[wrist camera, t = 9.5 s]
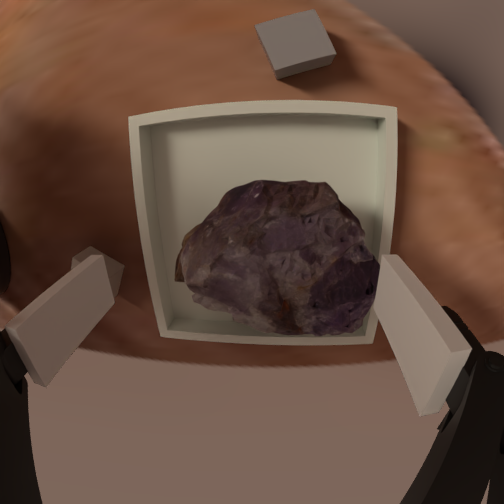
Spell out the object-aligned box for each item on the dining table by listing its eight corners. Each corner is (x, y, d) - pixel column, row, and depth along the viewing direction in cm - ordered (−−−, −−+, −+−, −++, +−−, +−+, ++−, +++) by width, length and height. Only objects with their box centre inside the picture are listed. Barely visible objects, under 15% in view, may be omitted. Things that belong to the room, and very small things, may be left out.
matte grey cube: (86, 275, 26) (68, 288, 23) (91, 245, 24) (72, 257, 21) (118, 294, 26) (102, 310, 23) (125, 264, 24) (108, 279, 22)
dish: (170, 320, 26) (160, 336, 23) (144, 118, 19) (128, 116, 17) (366, 326, 24) (372, 343, 21) (384, 110, 17) (396, 107, 15)
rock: (319, 298, 24) (363, 183, 20) (352, 375, 16) (431, 226, 12) (176, 273, 22) (201, 140, 18) (154, 353, 14) (179, 156, 10)
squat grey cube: (276, 80, 18) (274, 70, 15) (259, 40, 17) (254, 25, 14) (329, 65, 17) (336, 53, 14) (311, 25, 16) (314, 9, 13)
